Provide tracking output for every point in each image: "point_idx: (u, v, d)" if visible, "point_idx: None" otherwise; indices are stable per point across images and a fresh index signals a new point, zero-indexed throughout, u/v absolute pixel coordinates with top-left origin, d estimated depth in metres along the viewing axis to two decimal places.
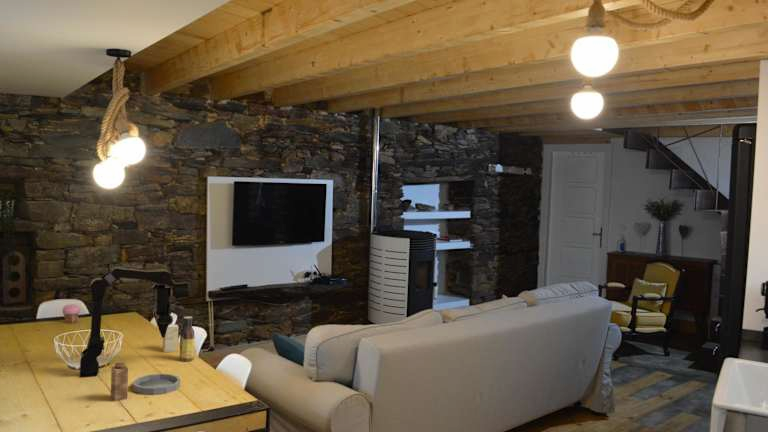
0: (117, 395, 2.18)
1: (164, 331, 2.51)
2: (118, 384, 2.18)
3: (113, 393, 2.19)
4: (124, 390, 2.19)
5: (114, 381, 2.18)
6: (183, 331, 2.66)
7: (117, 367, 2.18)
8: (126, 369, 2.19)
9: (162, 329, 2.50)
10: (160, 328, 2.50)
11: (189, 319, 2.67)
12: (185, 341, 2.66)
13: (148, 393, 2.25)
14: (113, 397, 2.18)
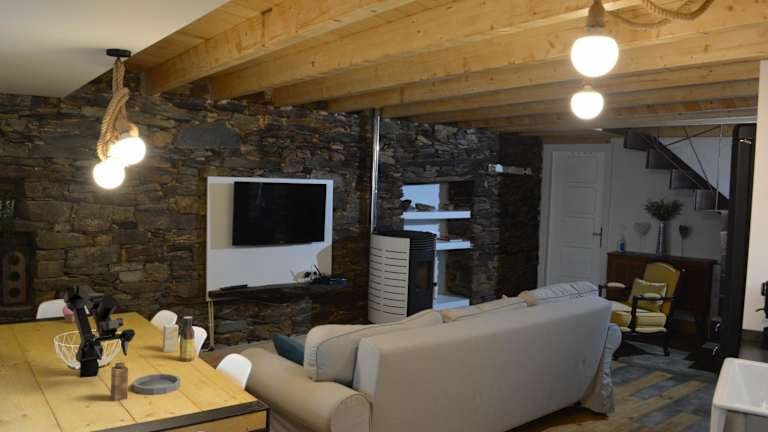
0: (117, 395, 2.18)
1: (96, 353, 2.23)
2: (118, 384, 2.18)
3: (113, 393, 2.19)
4: (124, 391, 2.19)
5: (114, 381, 2.18)
6: (183, 331, 2.66)
7: (117, 367, 2.18)
8: (126, 369, 2.19)
9: (94, 352, 2.23)
10: (93, 352, 2.24)
11: (189, 319, 2.67)
12: (185, 341, 2.66)
13: (148, 393, 2.25)
14: (113, 397, 2.18)
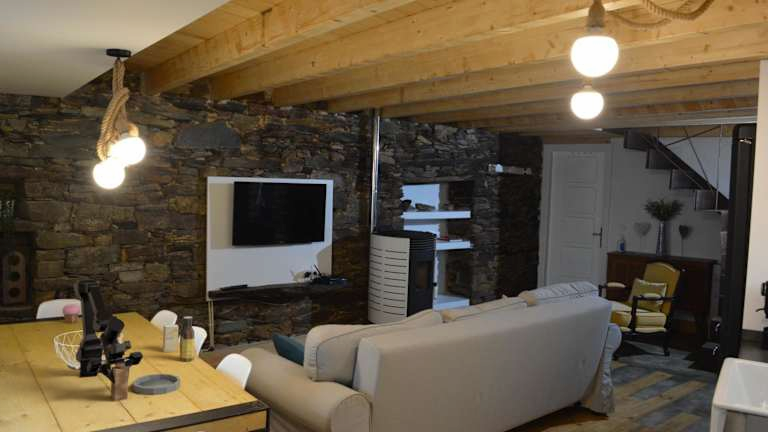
0: (117, 395, 2.18)
1: (109, 376, 2.18)
2: (118, 384, 2.18)
3: (113, 393, 2.19)
4: (124, 390, 2.19)
5: None
6: (183, 331, 2.66)
7: (117, 367, 2.18)
8: (126, 369, 2.19)
9: (108, 375, 2.19)
10: (106, 375, 2.19)
11: (189, 319, 2.67)
12: (185, 341, 2.66)
13: (148, 393, 2.25)
14: (113, 397, 2.18)
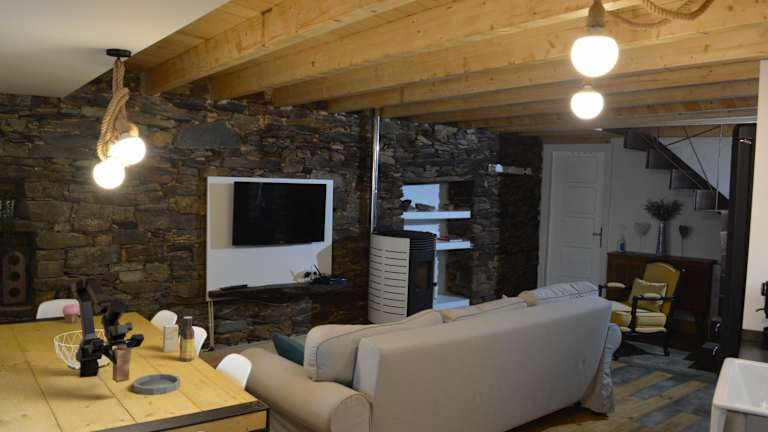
0: (119, 376, 2.18)
1: (111, 357, 2.18)
2: (120, 366, 2.18)
3: (114, 374, 2.19)
4: (126, 372, 2.19)
5: None
6: (183, 331, 2.66)
7: (119, 348, 2.18)
8: (128, 350, 2.19)
9: (109, 356, 2.19)
10: (108, 356, 2.19)
11: (189, 319, 2.67)
12: (185, 341, 2.66)
13: (148, 393, 2.25)
14: (115, 378, 2.18)
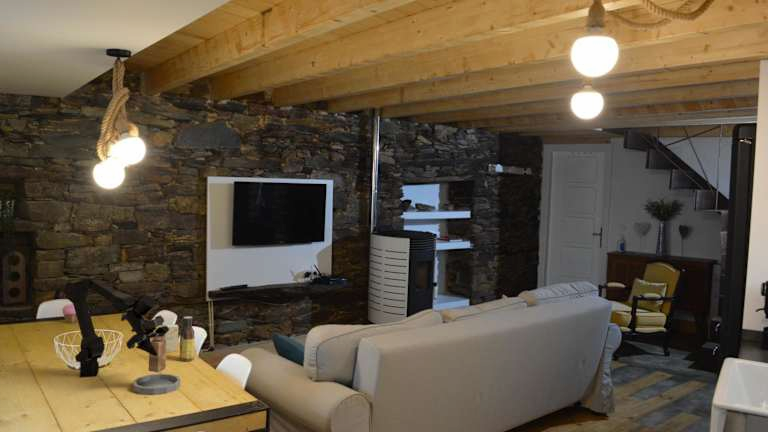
0: (159, 366, 2.31)
1: (150, 349, 2.30)
2: (160, 356, 2.31)
3: (153, 365, 2.31)
4: (164, 361, 2.34)
5: None
6: (183, 331, 2.66)
7: (158, 340, 2.31)
8: (165, 341, 2.34)
9: (147, 349, 2.30)
10: (145, 349, 2.30)
11: (189, 319, 2.67)
12: (185, 341, 2.66)
13: (148, 393, 2.25)
14: (154, 369, 2.31)
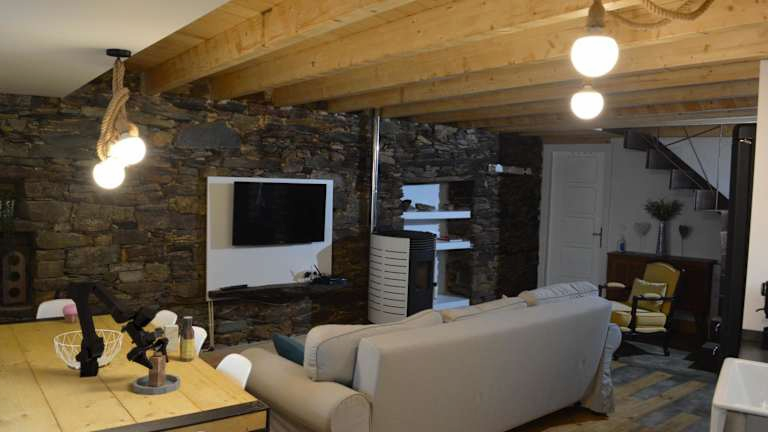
0: (159, 382, 2.32)
1: (146, 363, 2.28)
2: (160, 371, 2.32)
3: (153, 381, 2.32)
4: (163, 377, 2.34)
5: (155, 369, 2.31)
6: (183, 331, 2.66)
7: (157, 355, 2.32)
8: (164, 356, 2.34)
9: (143, 362, 2.28)
10: (141, 363, 2.28)
11: (189, 319, 2.67)
12: (185, 341, 2.66)
13: (148, 393, 2.25)
14: (154, 384, 2.31)
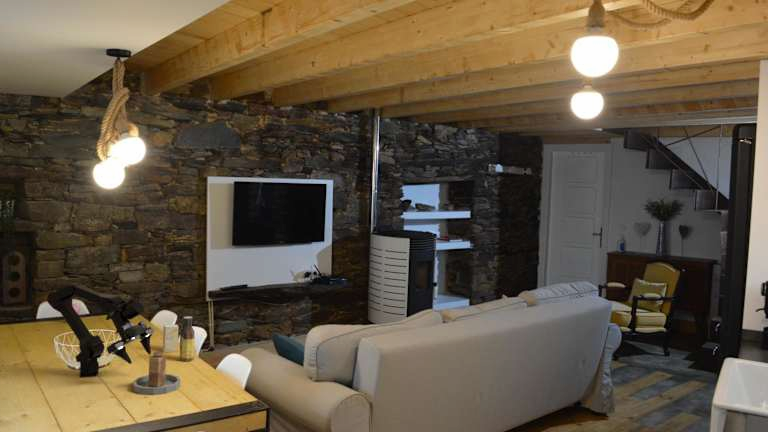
0: (159, 382, 2.32)
1: (125, 358, 2.34)
2: (160, 372, 2.32)
3: (153, 381, 2.32)
4: (163, 377, 2.34)
5: (156, 369, 2.31)
6: (183, 331, 2.66)
7: (157, 356, 2.32)
8: (165, 357, 2.34)
9: (123, 356, 2.34)
10: (121, 356, 2.35)
11: (189, 319, 2.67)
12: (185, 341, 2.66)
13: (148, 393, 2.25)
14: (154, 385, 2.31)
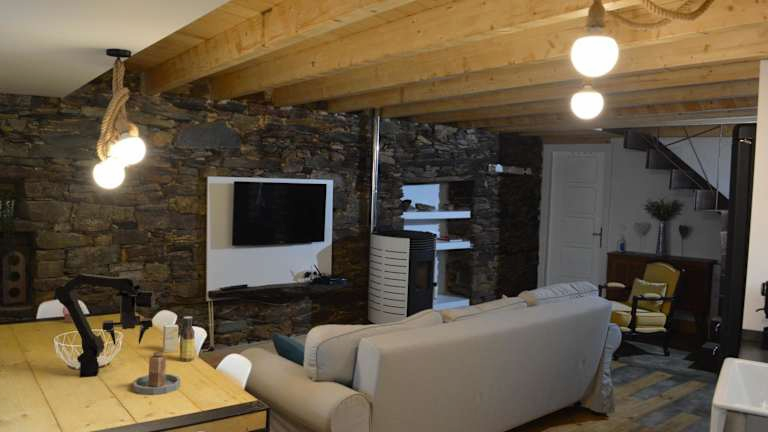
0: (159, 382, 2.32)
1: (112, 339, 2.42)
2: (160, 372, 2.32)
3: (153, 381, 2.32)
4: (163, 377, 2.34)
5: (156, 369, 2.31)
6: (183, 331, 2.66)
7: (157, 356, 2.32)
8: (165, 357, 2.34)
9: None
10: None
11: (189, 319, 2.67)
12: (185, 341, 2.66)
13: (148, 393, 2.25)
14: (154, 385, 2.31)
